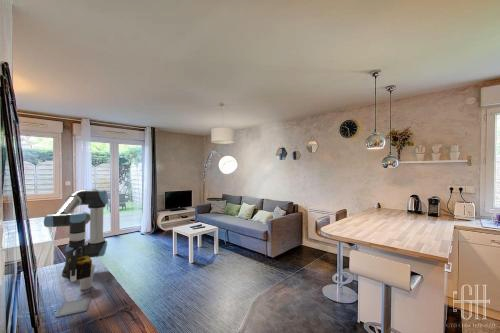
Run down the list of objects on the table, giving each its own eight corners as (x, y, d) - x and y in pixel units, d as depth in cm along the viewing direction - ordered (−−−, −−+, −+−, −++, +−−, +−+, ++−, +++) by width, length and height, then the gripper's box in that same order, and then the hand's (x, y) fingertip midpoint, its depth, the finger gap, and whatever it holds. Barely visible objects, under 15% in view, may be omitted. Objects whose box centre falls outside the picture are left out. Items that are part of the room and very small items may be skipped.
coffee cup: (85, 291, 149) (86, 269, 149) (73, 289, 151) (74, 267, 151) (98, 284, 159) (98, 263, 159) (86, 282, 161) (87, 261, 161)
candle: (69, 282, 127) (71, 264, 127) (65, 275, 134) (67, 258, 134) (90, 277, 134) (92, 260, 135) (86, 271, 141) (88, 255, 141)
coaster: (62, 303, 136) (62, 302, 136) (90, 298, 142) (90, 297, 142) (55, 318, 123) (55, 316, 123) (86, 311, 130) (86, 310, 130)
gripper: (74, 234, 142) (72, 269, 142) (63, 246, 121) (61, 287, 121) (88, 233, 146) (87, 266, 145) (80, 244, 124) (79, 284, 124)
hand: (75, 276), depth 133 cm, fingers closed on candle, 12 cm apart
